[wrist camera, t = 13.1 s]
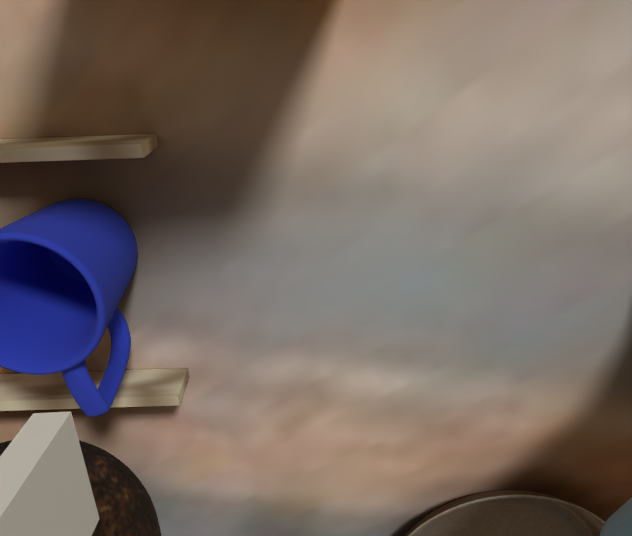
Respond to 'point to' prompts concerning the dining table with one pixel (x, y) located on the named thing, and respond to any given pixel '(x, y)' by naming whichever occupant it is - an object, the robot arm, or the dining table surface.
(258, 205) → the dining table surface
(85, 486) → the robot arm
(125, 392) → the channel
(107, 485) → the dark brown vase
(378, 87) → the dining table surface
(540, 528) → the plant saucer
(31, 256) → the mug
